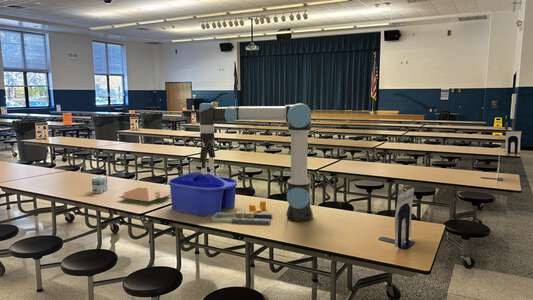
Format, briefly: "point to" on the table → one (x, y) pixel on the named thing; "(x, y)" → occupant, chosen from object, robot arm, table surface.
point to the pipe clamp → (260, 208)
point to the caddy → (202, 193)
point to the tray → (221, 218)
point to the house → (145, 195)
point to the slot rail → (254, 219)
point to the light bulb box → (99, 184)
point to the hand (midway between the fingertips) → (208, 171)
